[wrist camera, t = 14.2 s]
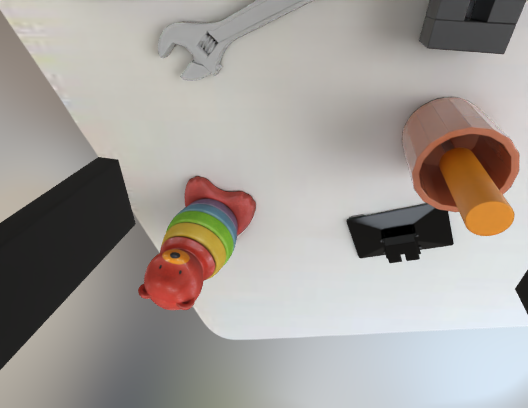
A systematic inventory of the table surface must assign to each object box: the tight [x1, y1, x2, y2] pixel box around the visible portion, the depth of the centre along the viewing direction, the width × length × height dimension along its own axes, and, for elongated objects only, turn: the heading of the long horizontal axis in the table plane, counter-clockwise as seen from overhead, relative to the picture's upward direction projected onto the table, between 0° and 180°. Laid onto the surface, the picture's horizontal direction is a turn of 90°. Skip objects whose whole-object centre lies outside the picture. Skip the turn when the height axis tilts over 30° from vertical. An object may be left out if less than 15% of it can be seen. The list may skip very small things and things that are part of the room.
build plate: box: [347, 203, 454, 263], centre depth 42 cm, size 12×7×5 cm, turn 113°
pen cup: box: [402, 97, 519, 212], centre depth 33 cm, size 8×8×10 cm
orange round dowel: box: [439, 139, 514, 236], centre depth 29 cm, size 3×3×16 cm
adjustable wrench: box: [158, 0, 313, 81], centre depth 34 cm, size 25×6×2 cm, turn 110°
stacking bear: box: [138, 176, 256, 310], centre depth 43 cm, size 11×10×18 cm
